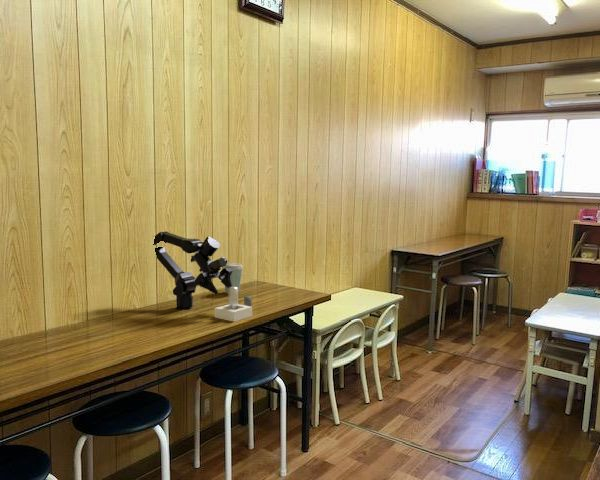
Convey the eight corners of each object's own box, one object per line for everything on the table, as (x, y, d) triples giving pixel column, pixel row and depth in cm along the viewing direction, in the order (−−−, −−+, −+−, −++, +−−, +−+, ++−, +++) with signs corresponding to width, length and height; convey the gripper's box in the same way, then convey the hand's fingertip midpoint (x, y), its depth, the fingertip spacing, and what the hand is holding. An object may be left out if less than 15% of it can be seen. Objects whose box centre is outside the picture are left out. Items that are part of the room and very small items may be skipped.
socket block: (234, 321, 214) (234, 312, 213) (214, 317, 220) (214, 308, 220) (252, 316, 223) (252, 306, 222) (233, 312, 229) (232, 303, 229)
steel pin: (230, 318, 219) (230, 288, 217) (227, 316, 222) (227, 286, 221) (239, 317, 220) (239, 287, 219) (236, 315, 224) (236, 286, 223)
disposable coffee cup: (235, 289, 275) (235, 261, 273) (247, 293, 267) (247, 263, 265) (218, 292, 268) (217, 263, 267) (229, 296, 260) (229, 266, 258)
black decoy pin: (243, 311, 231) (243, 297, 230) (244, 309, 234) (244, 296, 233) (251, 311, 231) (250, 297, 230) (252, 309, 234) (252, 296, 233)
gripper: (199, 253, 216) (220, 283, 211) (229, 248, 231) (249, 276, 227) (185, 270, 221) (205, 300, 216) (216, 264, 237) (235, 292, 232)
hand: (224, 291), depth 223 cm, fingers open, 9 cm apart
